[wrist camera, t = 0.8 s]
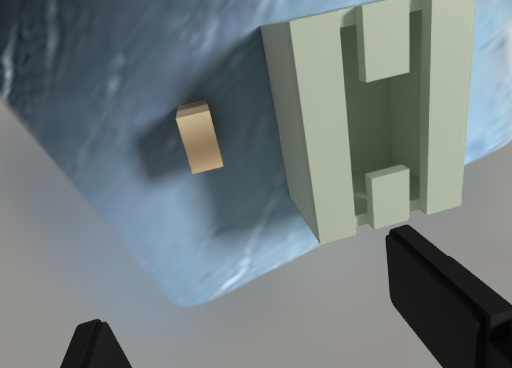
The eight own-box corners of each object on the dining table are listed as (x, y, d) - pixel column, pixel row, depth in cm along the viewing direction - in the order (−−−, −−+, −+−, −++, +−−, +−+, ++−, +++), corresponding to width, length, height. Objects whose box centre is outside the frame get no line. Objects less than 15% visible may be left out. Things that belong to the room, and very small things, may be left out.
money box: (259, 26, 28) (289, 21, 20) (395, -4, 29) (477, -20, 21) (289, 195, 34) (320, 244, 26) (398, 166, 35) (461, 205, 27)
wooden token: (177, 106, 29) (175, 118, 25) (206, 99, 29) (209, 110, 25) (192, 154, 31) (192, 174, 26) (218, 147, 31) (223, 166, 27)
